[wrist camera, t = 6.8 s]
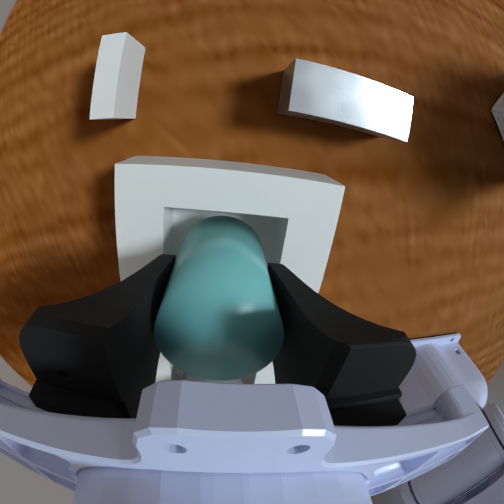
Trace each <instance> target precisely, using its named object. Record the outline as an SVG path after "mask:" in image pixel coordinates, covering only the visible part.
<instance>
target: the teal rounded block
mask: <svg viewBox="0 0 504 504" xmlns="http://www.w3.org/2000/svg"><path fill="white" fill-rule="evenodd" d="M154 335H155V341H156V344H157V346H158V348H159V350H160V352H161V353H162V355H163V356H164V357H165V358H166V359H167V360H168V361H169V362H170V363H171V364H172V365H173V366H175V367H176V368H178V369H179V370H181V371H183V372H185V373H187V374H189V375H192V376H195V377H198V378H202V379H207V380H218V381H224V380H235V379H240V378H244V377H247V376H250V375H252V374H254V373H257V372H258V371H260V370H262V369H263V368H265V367H266V366H268V365H269V364H270V363H271V362H272V361H273V360H274V359H275V357H276V356H277V355H278V353H279V352H280V350H281V347H282V345H283V340H284V328H283V324H282V320H281V316H280V312H279V309H278V305H277V301H276V297H275V293H274V290H273V286H272V282H271V279H270V275H269V271H268V267H267V264H266V260H265V256H264V253H263V249H262V245H261V242H260V239H259V237H258V235H257V234H256V232H255V231H254V230H253V229H252V228H251V227H250V226H249V225H248V224H246V223H245V222H243V221H241V220H239V219H237V218H234V217H230V216H212V217H208V218H205V219H203V220H201V221H199V222H198V223H196V224H195V225H193V226H192V227H191V228H190V229H189V231H188V232H187V233H186V235H185V237H184V239H183V241H182V244H181V247H180V250H179V252H178V255H177V258H176V261H175V263H174V266H173V269H172V272H171V275H170V278H169V281H168V284H167V287H166V290H165V293H164V296H163V299H162V302H161V305H160V308H159V311H158V315H157V318H156V321H155V326H154Z"/></svg>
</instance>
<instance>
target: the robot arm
mask: <svg viewBox="0 0 504 504" xmlns="http://www.w3.org/2000/svg"><path fill="white" fill-rule="evenodd" d="M175 261H176V255H169V254H161V255H159V256H158V257H156V258H155V259H154V260H152V261H151V262H150V263H148V264H147V265H145V266H144V267H143V268H141V269H140V270H138V271H137V272H135V273H134V274H132V275H131V276H129V277H127V278H126V279H124V280H123V281H121V282H119V283H117V284H115V285H113V286H111V287H109V288H107V289H105V290H103V291H100V292H97V293H95V294H92V295H90V296H87V297H84V298H81V299H77V300H74V301H70V302H66V303H61V304H56V305H49V306H43V307H38V308H37V310H36V311H35V312H34V313H33V315H32V316H31V317H30V319H29V320H28V321H27V323H26V324H25V326H24V327H23V328H22V330H21V331H20V335H19V341H20V346H21V349H22V352H23V354H24V356H25V358H26V360H27V362H28V364H29V366H30V368H31V369H32V371H33V373H34V375H35V377H36V378H37V380H36V382H35V384H34V386H33V388H32V390H31V392H30V393H27V392H25V391H22V390H20V389H18V388H16V387H14V386H11V385H9V384H7V383H5V382H3V381H1V380H0V452H2V453H3V454H5V455H6V456H8V457H9V458H11V459H13V460H14V461H16V462H18V463H19V464H21V465H23V466H25V467H26V468H28V469H30V470H32V471H33V472H35V473H37V474H39V475H41V476H43V477H45V478H47V479H49V480H51V481H53V482H55V483H57V484H59V485H62V486H64V487H66V488H68V489H71V490H73V491H75V494H74V499H73V504H372V501H371V498H370V496H373V495H375V494H378V493H381V492H383V491H386V490H388V489H391V488H393V487H395V486H398V485H400V491H401V494H402V497H403V500H404V502H405V503H406V504H504V416H503V414H502V413H501V411H500V410H499V408H498V407H497V405H496V404H491V405H490V404H489V403H488V404H486V400H487V385H486V381H485V379H484V377H483V375H482V374H481V373H480V371H479V370H478V369H477V367H476V366H475V365H474V363H473V362H472V361H471V359H470V358H469V357H468V355H467V354H466V353H465V352H464V350H463V349H462V348H461V346H460V345H459V344H458V341H459V339H460V338H461V335H460V334H459V333H456V334H449V335H443V336H436V337H429V338H421V339H413V340H409V338H408V337H407V335H406V334H405V332H402V331H398V330H394V329H391V328H387V327H383V326H380V325H377V324H375V323H372V322H369V321H366V320H364V319H362V318H359V317H357V316H355V315H353V314H351V313H349V312H347V311H345V310H343V309H341V308H339V307H338V306H336V305H334V304H333V303H331V302H329V301H328V300H326V299H325V298H323V297H322V296H321V295H319V294H318V293H317V292H315V291H314V290H313V289H311V288H310V287H309V286H308V285H306V284H305V283H304V282H303V281H302V280H301V279H299V278H298V277H297V276H296V275H295V274H294V273H293V272H291V271H290V270H289V269H288V268H287V267H286V266H284V265H283V264H278V263H268V271H269V275H270V279H271V282H272V286H273V290H274V293H275V297H276V301H277V305H278V309H279V312H280V316H281V320H282V324H283V328H284V340H283V345H282V347H281V350H280V352H279V353H278V355H277V356H276V357H275V359H274V360H273V361H272V362H273V367H274V376H275V384H238V383H216V382H201V381H190V380H170V381H158V382H156V383H155V381H156V374H157V367H158V361H159V357H160V353H161V352H160V350H159V348H158V346H157V344H156V341H155V335H154V326H155V321H156V318H157V315H158V311H159V308H160V305H161V302H162V299H163V296H164V293H165V290H166V287H167V284H168V281H169V278H170V275H171V272H172V269H173V266H174V263H175ZM485 404H486V405H485ZM498 469H499V470H498ZM497 470H498V471H497ZM496 471H497V472H496ZM495 472H496V473H495ZM493 473H494V474H493ZM492 474H493V475H492ZM490 475H492V476H490ZM489 476H490V477H489ZM488 477H489V478H488ZM486 478H488V479H486ZM485 479H486V480H485ZM484 480H485V481H484ZM482 481H483V482H482ZM481 482H482V483H481ZM479 483H481V484H479ZM478 484H479V485H478ZM476 485H478V486H476ZM475 486H476V487H475ZM474 487H475V488H474ZM472 488H473V489H472ZM470 489H472V490H470ZM469 490H470V491H469ZM467 491H469V492H467ZM466 492H467V493H466ZM464 493H466V494H464ZM463 494H464V495H463ZM461 495H462V496H461ZM459 496H461V497H459ZM458 497H459V498H458ZM456 498H457V499H456ZM454 499H455V500H454Z"/></svg>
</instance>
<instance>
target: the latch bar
mask: <svg viewBox="0 0 504 504" xmlns="http://www.w3.org/2000/svg"><path fill="white" fill-rule="evenodd" d="M413 100H414V97H413V96H411V95H408V94H406V93H404V92H401V91H399V90H397V89H394V88H392V87H389V86H387V85H384V84H381V83H379V82H376V81H373V80H371V79H368V78H365V77H362V76H359V75H356V74H353V73H350V72H347V71H343V70H340V69H336V68H333V67H329V66H326V65H322V64H318V63H314V62H310V61H305V60H301V59H295V60H294V61H293V62H292V63H291V64H290V65H289V66H288V67H287V68H285V69H284V70H283V76H282V83H281V90H280V97H279V104H278V111H277V114H283V115H289V116H294V117H300V118H305V119H310V120H315V121H319V122H324V123H328V124H332V125H337V126H341V127H345V128H348V129H352V130H356V131H360V132H363V133H367V134H370V135H374V136H377V137H380V138H387V139H393V140H399V141H404V142H408V136H409V130H410V123H411V116H412V109H413Z"/></svg>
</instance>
